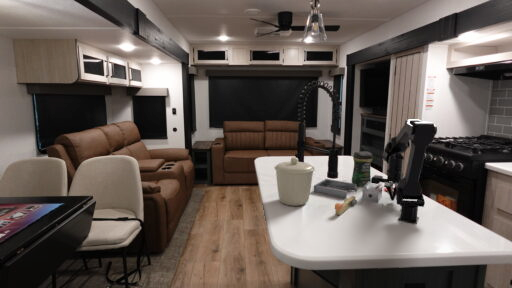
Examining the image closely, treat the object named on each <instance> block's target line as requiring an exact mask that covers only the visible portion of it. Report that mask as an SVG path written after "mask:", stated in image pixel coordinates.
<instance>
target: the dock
mask: <svg viewBox="0 0 512 288" xmlns="http://www.w3.org/2000/svg"><path fill="white" fill-rule="evenodd" d="M332 187H333V188H332ZM336 188H337V189H336ZM342 189H343V190H342ZM348 191H353V192H356V191H357V185H356V184H353V183H352V182H347V181H341V180H335V179H329V178H325V179H323V180H321V181H320V182H318V183H316V184H314V185H313V193H314V194H315V193H316V194H321V195H326V196H331V197H335V198H340V199H344V200H343V203H344V202H345V201H346V200H347V199H349V198H350V197H347V195H348ZM357 204H358V199H355V200H354V201H352V205H351V207H355V206H356V205H357Z"/></svg>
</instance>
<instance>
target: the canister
mask: <svg viewBox="0 0 512 288" xmlns="http://www.w3.org/2000/svg"><path fill="white" fill-rule="evenodd" d="M273 168H274V171H275V175H276V184H277V185H276V187H277V194H278V199H279V201H280V202H281V203H282V204H284V205H286V206H290V207H291V206H292V207H298V206H304V205H305V204H307V203H308V202H309V199H310V194H311V187H312V181H313V175H314V171H315V170H316V169H315V167H314V166H312V164H309V163H307V162H302V161H299V158H298V157H294V156H293V157H291V158H290V161H283V162H279V163H278V164H276V165H275V166H274V167H273Z"/></svg>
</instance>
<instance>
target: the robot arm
mask: <svg viewBox="0 0 512 288" xmlns="http://www.w3.org/2000/svg"><path fill="white" fill-rule="evenodd" d="M437 132H438V127H437V125H435V123H434V122H431V121H430V122H429V121H423V120H420V119H419V118H418V119H410V118H409V119H406V120H405V121H404V124H403V126H402V127H401V129H400V130H399V132H398V133H397V135H395V136H393V137H391V138H390V139H389V140H388V141H387V142H386V145H385V146H384V148H383V153H382V155H381V159H382V161H383V162H385V163H386V164H388V165H387V170H386V175H387V177H386V178H384V176H383V175H378V174H375V175H373V176H372V177H371V184H375V185H378V184H379V183H383V184H384V185H383V187H384V188H386V189H387V191H388V195H389V197H390V200H391V201H392V202H393V201H394V200H395V199H396V200H395V201H396V204H397V205H399V206H400V207H401V208H400V215H399V216H398V218H397V220H398V221H401V222H402V221H403V222H407V223H411V224H416V225H417V224H418V222H419V219H420V217H419V216H418V211H419V207H422V208H424V207H425V203H426V202H425V198H424V195H423V191H422V189H423V188H422V185H421V183H420V181H419V180H420V176H421V172H422V169H423V163H424V159H425V156H426V151H427V150H426V149H427V147H428V146H430V145H431V144H432V143H433V142H434V141H435V137H436V135H437ZM409 141H410V142H411V147H410V150H409V155H408V161H407V165H406V169H405V174H404V172H403V163H404V160H405V157H404V155H402V154H404V153H405V152H406V151H407V149H408V147H409V146H408V143H409ZM395 182H397V183H395ZM395 185H396V186H395ZM393 188H394V189H393ZM387 191H386V192H387Z"/></svg>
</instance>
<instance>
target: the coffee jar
mask: <svg viewBox="0 0 512 288" xmlns="http://www.w3.org/2000/svg"><path fill="white" fill-rule="evenodd" d="M352 158H353V169H352V175H351V177H352V178H351V183H353V184H356V187H357V186H358V187H364V186H365V184H366V183H367V182H368V181H369V182H371V178H372V177H371V165H372V161H373V153H372V152H370V151H354V153H353V157H352Z"/></svg>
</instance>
